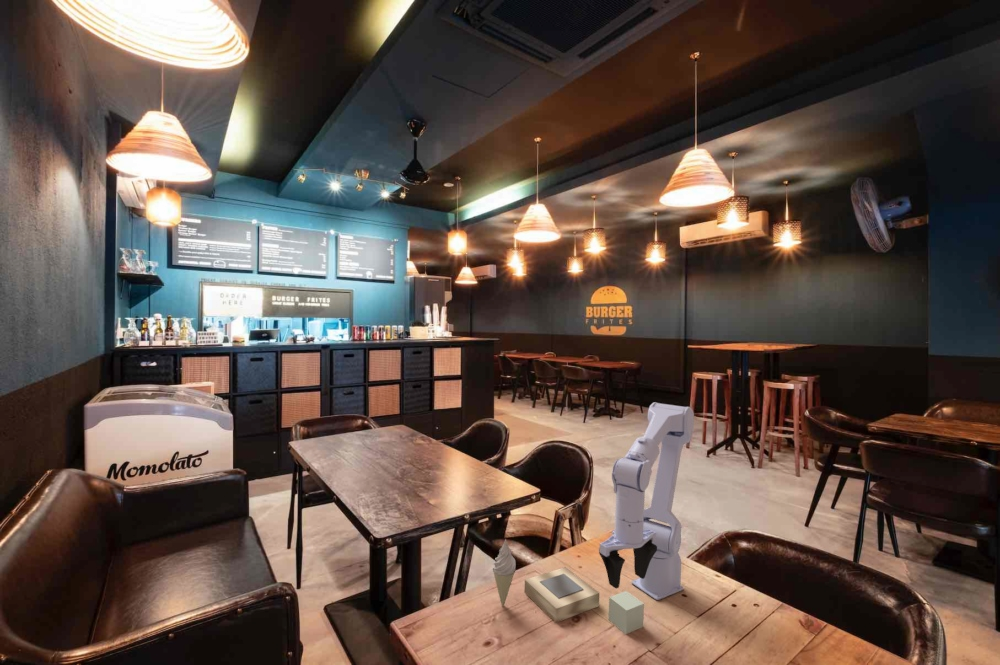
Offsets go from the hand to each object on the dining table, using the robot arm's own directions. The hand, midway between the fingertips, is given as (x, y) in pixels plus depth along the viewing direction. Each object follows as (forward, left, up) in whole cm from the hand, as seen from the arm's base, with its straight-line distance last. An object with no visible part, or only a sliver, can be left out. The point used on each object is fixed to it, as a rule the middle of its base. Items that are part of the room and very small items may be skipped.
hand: (627, 580), depth 95 cm
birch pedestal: (+7, -13, -9) cm, 17 cm away
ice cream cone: (+20, -17, -9) cm, 28 cm away
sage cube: (0, 0, -9) cm, 9 cm away
